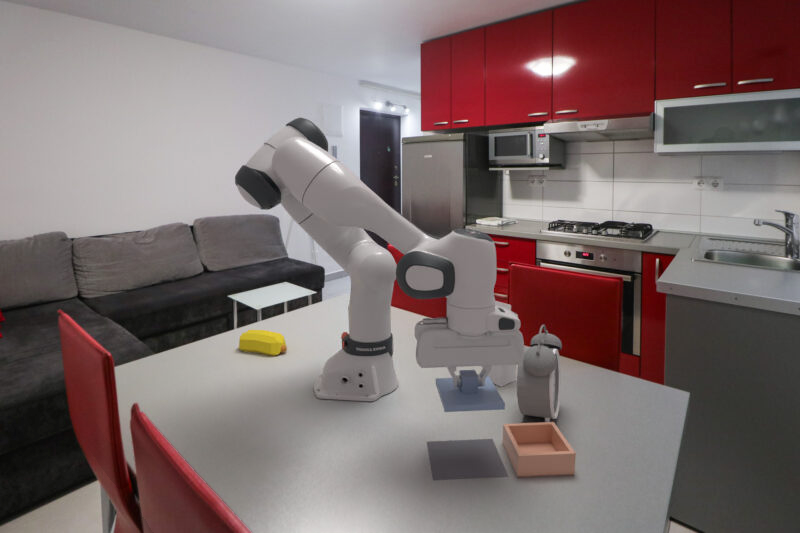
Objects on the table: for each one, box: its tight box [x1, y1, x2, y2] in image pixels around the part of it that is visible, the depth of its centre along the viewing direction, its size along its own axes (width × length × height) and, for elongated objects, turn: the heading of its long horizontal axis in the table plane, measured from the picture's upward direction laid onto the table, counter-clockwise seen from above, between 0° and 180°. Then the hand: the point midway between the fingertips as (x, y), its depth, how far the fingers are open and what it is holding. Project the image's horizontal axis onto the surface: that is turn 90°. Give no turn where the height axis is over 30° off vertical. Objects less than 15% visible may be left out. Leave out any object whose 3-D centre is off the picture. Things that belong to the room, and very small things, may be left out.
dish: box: [502, 421, 577, 478], centre depth 88 cm, size 11×11×5 cm
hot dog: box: [238, 329, 288, 357], centre depth 145 cm, size 18×7×8 cm
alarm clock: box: [516, 324, 563, 422], centre depth 102 cm, size 16×9×22 cm, turn 154°
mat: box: [426, 438, 509, 481], centre depth 89 cm, size 14×12×1 cm
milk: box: [488, 300, 519, 388], centre depth 120 cm, size 6×6×22 cm
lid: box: [435, 369, 506, 413], centre depth 86 cm, size 11×11×5 cm
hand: (468, 385), depth 86 cm, fingers closed on lid, 3 cm apart
